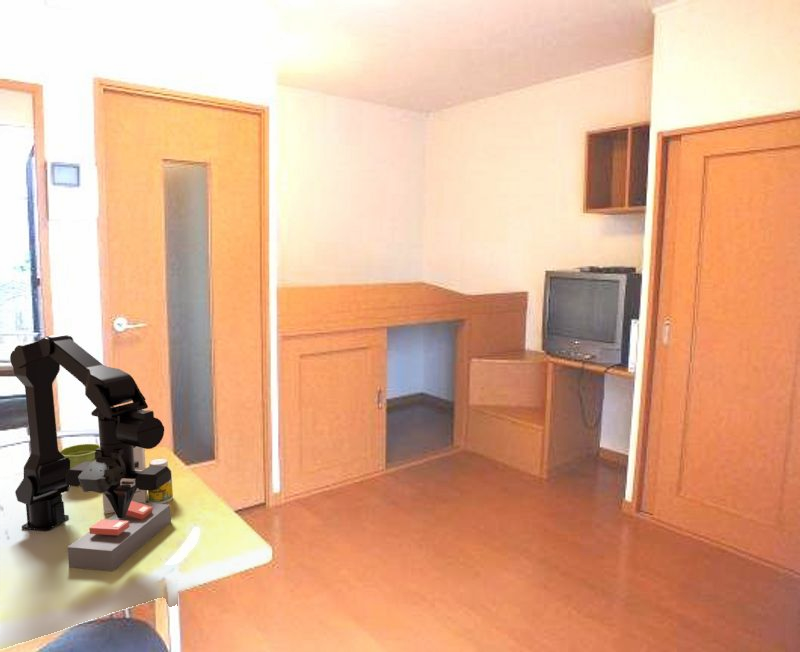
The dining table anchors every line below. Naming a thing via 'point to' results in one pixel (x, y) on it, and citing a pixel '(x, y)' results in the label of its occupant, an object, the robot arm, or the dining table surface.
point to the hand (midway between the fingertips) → (121, 517)
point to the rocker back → (139, 510)
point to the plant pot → (80, 453)
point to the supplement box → (139, 494)
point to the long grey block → (118, 541)
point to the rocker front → (109, 527)
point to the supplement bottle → (165, 491)
